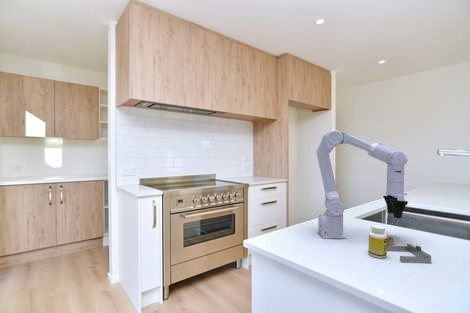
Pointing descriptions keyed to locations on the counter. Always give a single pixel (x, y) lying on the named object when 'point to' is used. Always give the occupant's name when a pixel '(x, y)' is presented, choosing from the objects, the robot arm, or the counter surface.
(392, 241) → the tan cardboard box
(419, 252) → the steel cradle
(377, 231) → the supplement bottle
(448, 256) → the counter surface
